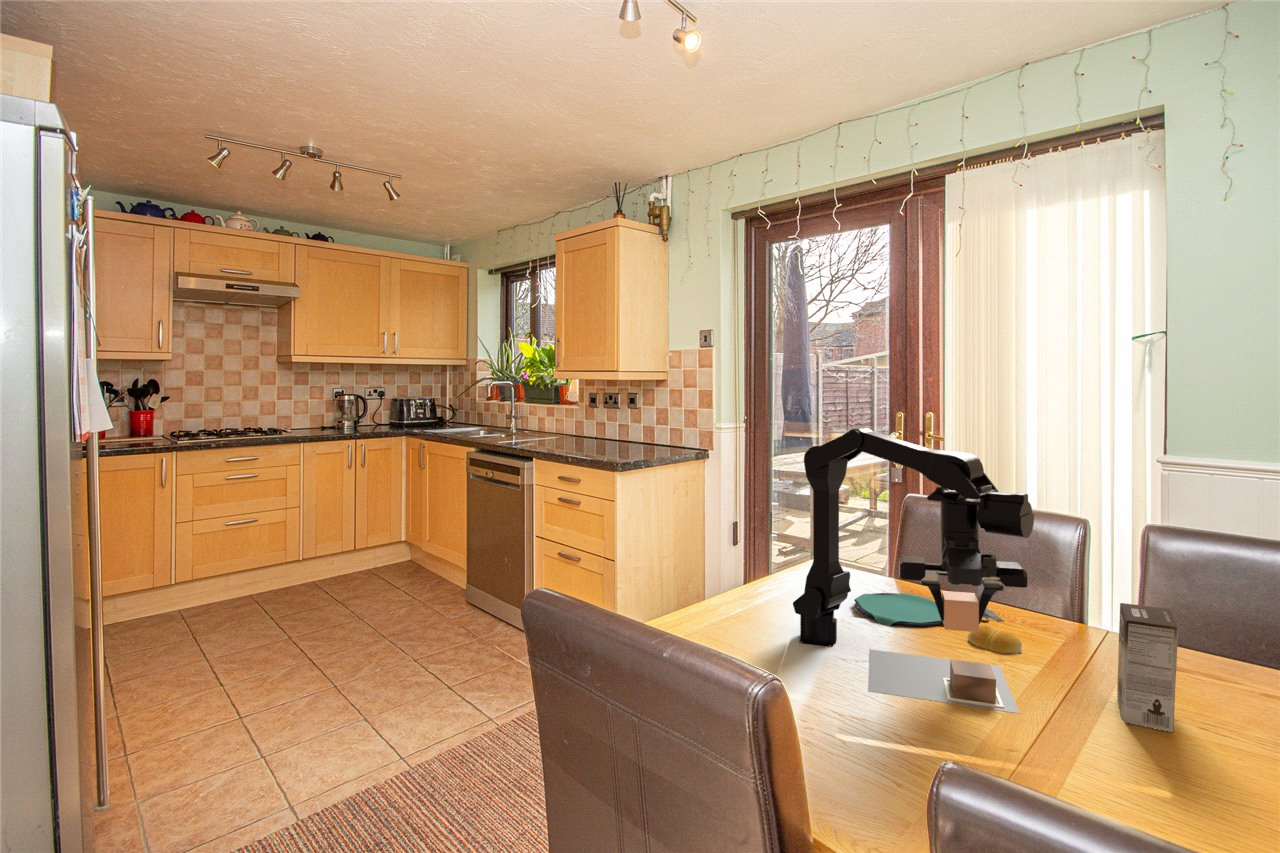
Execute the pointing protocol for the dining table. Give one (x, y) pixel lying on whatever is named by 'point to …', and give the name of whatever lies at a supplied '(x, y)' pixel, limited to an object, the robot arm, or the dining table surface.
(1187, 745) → the dining table surface
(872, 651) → the slate board
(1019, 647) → the bread roll
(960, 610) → the terracotta block
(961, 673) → the walnut block
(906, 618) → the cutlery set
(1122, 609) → the coffee box
